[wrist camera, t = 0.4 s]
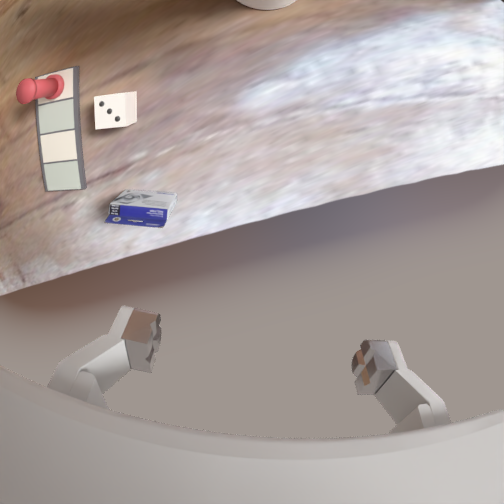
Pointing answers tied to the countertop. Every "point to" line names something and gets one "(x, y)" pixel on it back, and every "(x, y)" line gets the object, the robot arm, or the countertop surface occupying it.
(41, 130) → the game board
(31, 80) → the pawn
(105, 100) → the die
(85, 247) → the countertop surface
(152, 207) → the ink box
